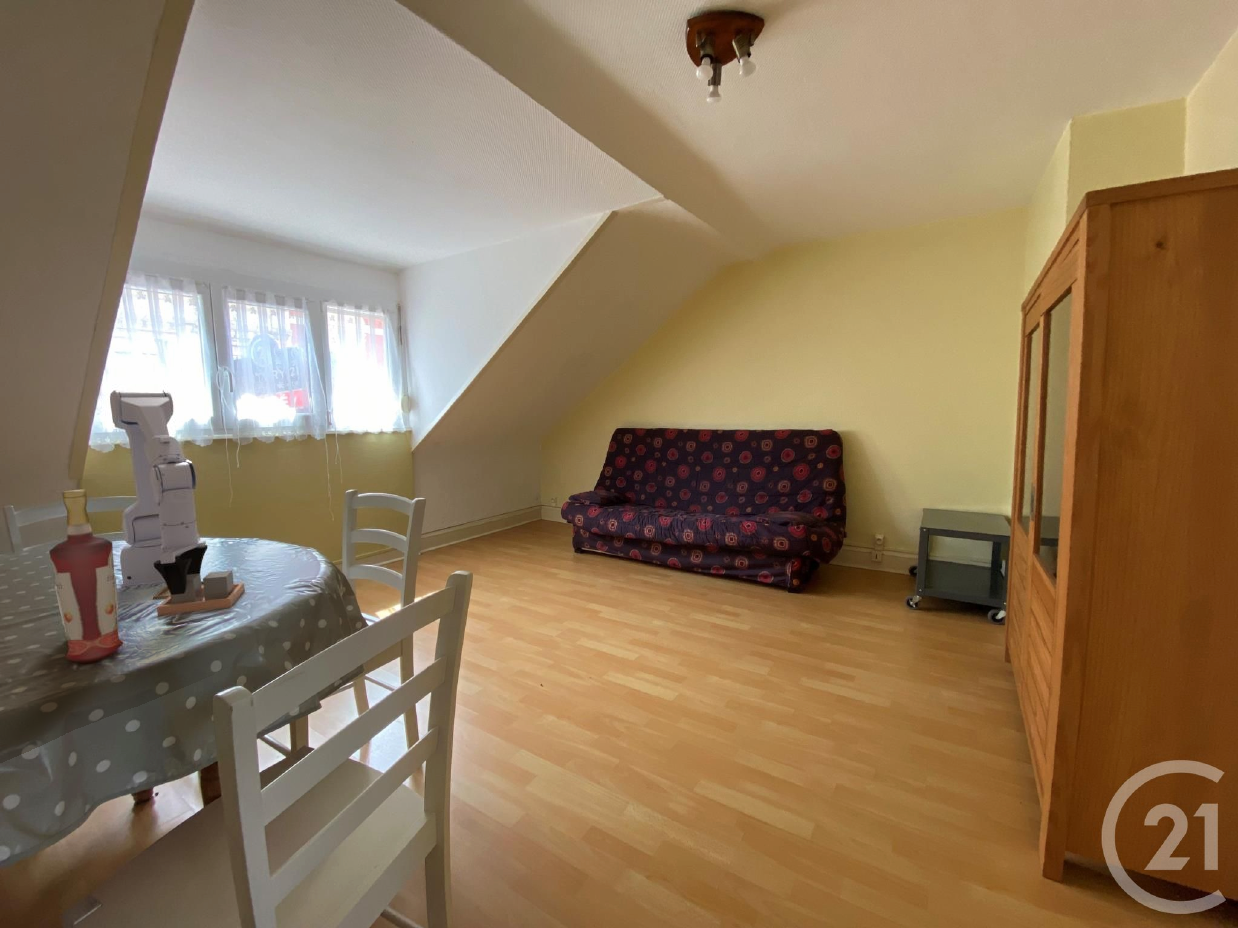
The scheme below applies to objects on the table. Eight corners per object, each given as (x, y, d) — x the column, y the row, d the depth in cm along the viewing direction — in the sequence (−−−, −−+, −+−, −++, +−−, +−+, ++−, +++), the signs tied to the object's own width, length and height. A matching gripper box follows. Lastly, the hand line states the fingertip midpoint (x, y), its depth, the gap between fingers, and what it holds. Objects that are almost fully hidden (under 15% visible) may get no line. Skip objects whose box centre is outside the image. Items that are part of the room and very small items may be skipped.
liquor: (125, 657, 91) (104, 491, 87) (63, 672, 86) (37, 497, 82) (125, 642, 96) (106, 485, 92) (67, 655, 91) (43, 490, 88)
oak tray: (152, 601, 115) (152, 597, 114) (168, 588, 122) (168, 584, 122) (221, 594, 119) (220, 589, 119) (232, 582, 126) (231, 578, 126)
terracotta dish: (158, 617, 106) (156, 607, 106) (178, 599, 116) (177, 589, 115) (231, 609, 111) (230, 598, 110) (244, 592, 120) (243, 582, 120)
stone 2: (205, 604, 112) (202, 578, 111) (212, 597, 115) (209, 572, 115) (228, 601, 113) (226, 576, 112) (234, 595, 117) (232, 570, 116)
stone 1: (171, 608, 110) (168, 582, 109) (179, 601, 113) (176, 575, 113) (195, 605, 111) (193, 579, 110) (202, 598, 115) (200, 573, 114)
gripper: (189, 529, 105) (196, 597, 106) (214, 513, 118) (220, 573, 120) (143, 532, 102) (151, 602, 104) (174, 515, 115) (181, 577, 117)
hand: (185, 587), depth 112 cm, fingers open, 7 cm apart
